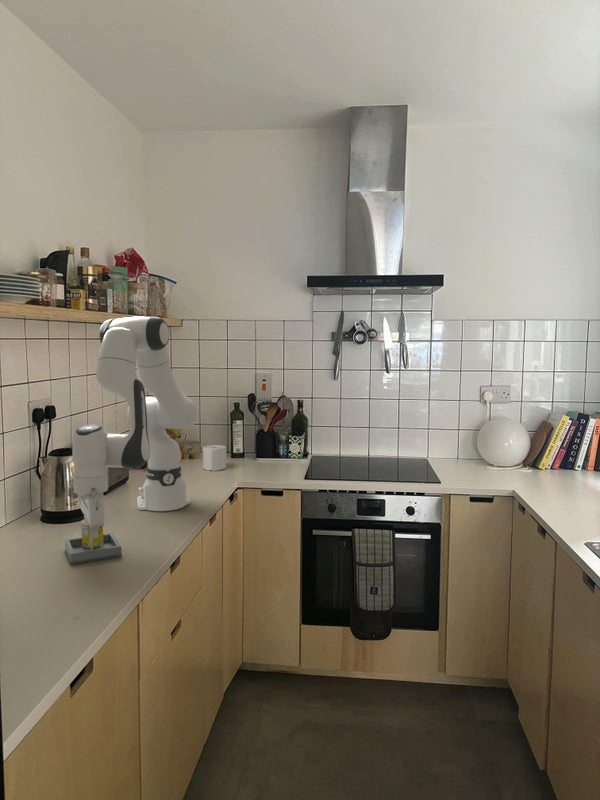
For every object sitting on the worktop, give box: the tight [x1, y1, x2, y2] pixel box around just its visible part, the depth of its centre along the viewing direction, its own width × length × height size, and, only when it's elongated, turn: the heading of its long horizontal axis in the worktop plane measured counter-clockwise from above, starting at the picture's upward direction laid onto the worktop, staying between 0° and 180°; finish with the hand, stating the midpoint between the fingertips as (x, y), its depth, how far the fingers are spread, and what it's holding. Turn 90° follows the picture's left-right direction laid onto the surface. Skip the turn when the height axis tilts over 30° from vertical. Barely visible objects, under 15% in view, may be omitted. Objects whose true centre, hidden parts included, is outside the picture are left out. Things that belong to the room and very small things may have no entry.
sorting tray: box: [64, 532, 123, 566], centre depth 167 cm, size 13×13×3 cm
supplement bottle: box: [80, 513, 104, 551], centre depth 167 cm, size 6×6×10 cm
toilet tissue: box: [202, 444, 227, 472], centre depth 277 cm, size 11×12×10 cm
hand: (92, 533), depth 167 cm, fingers closed on supplement bottle, 5 cm apart
